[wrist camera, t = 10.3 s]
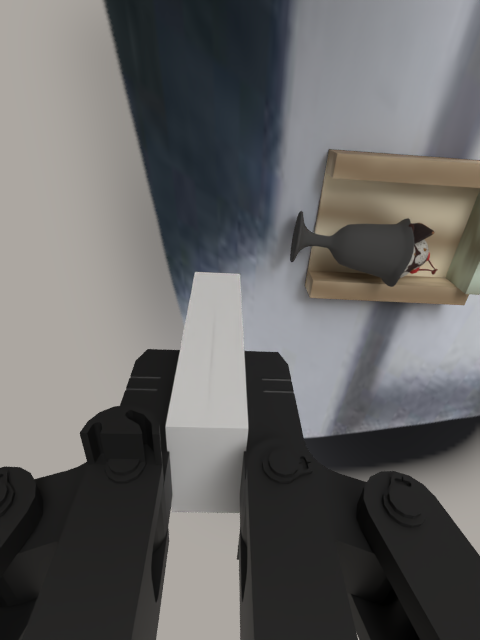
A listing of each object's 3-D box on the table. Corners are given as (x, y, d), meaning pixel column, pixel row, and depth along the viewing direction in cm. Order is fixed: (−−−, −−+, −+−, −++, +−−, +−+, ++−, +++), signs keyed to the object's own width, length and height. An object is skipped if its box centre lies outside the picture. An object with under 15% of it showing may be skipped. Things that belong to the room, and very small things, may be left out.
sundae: (286, 270, 39) (423, 292, 39) (293, 270, 33) (458, 297, 32) (297, 208, 38) (437, 230, 38) (306, 195, 32) (476, 222, 32)
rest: (329, 149, 34) (341, 155, 30) (503, 162, 35) (536, 169, 31) (304, 285, 41) (312, 304, 37) (449, 292, 42) (471, 311, 38)
